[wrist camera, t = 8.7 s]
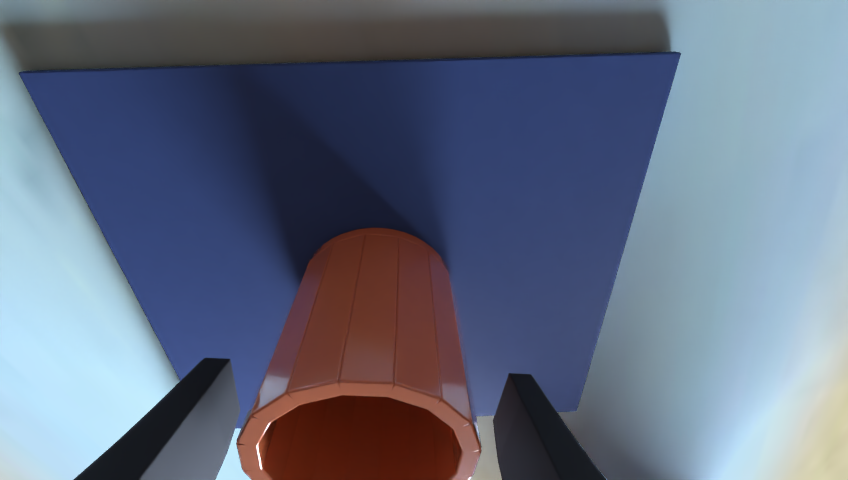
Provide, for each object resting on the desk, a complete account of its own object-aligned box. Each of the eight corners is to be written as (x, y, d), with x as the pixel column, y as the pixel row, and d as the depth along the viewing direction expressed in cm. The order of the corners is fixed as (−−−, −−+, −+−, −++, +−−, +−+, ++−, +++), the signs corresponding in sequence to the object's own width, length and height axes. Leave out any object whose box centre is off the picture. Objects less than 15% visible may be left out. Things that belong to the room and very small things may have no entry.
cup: (463, 233, 13) (503, 388, 7) (441, 348, 15) (459, 519, 10) (298, 220, 12) (219, 375, 7) (305, 341, 15) (252, 517, 10)
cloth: (674, 51, 10) (681, 52, 10) (574, 405, 18) (576, 411, 18) (27, 70, 10) (17, 71, 10) (208, 424, 18) (205, 430, 17)
